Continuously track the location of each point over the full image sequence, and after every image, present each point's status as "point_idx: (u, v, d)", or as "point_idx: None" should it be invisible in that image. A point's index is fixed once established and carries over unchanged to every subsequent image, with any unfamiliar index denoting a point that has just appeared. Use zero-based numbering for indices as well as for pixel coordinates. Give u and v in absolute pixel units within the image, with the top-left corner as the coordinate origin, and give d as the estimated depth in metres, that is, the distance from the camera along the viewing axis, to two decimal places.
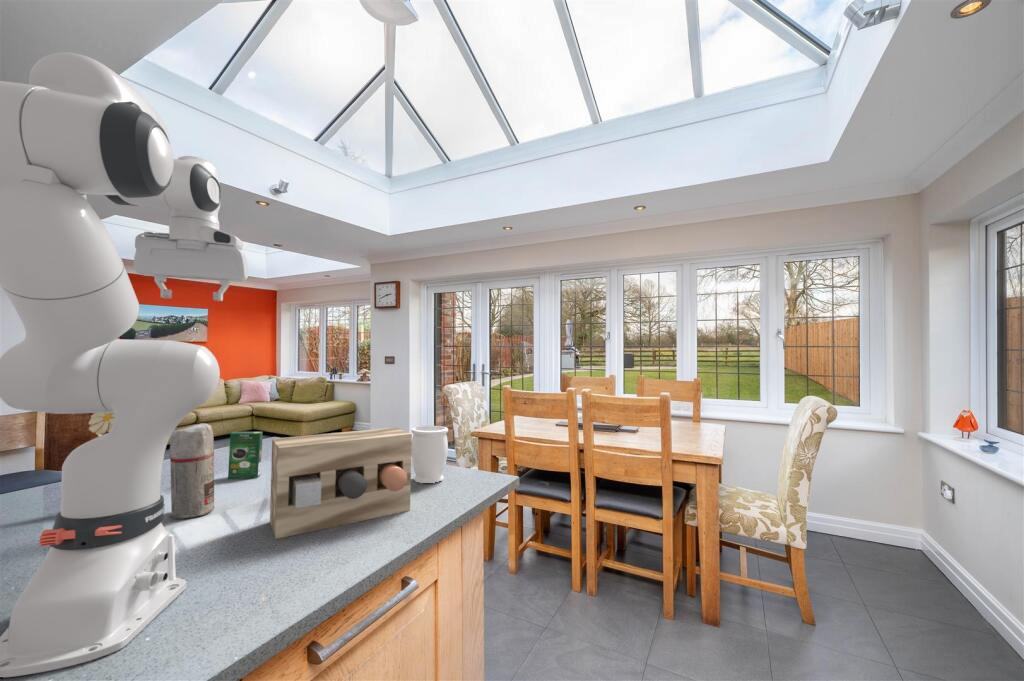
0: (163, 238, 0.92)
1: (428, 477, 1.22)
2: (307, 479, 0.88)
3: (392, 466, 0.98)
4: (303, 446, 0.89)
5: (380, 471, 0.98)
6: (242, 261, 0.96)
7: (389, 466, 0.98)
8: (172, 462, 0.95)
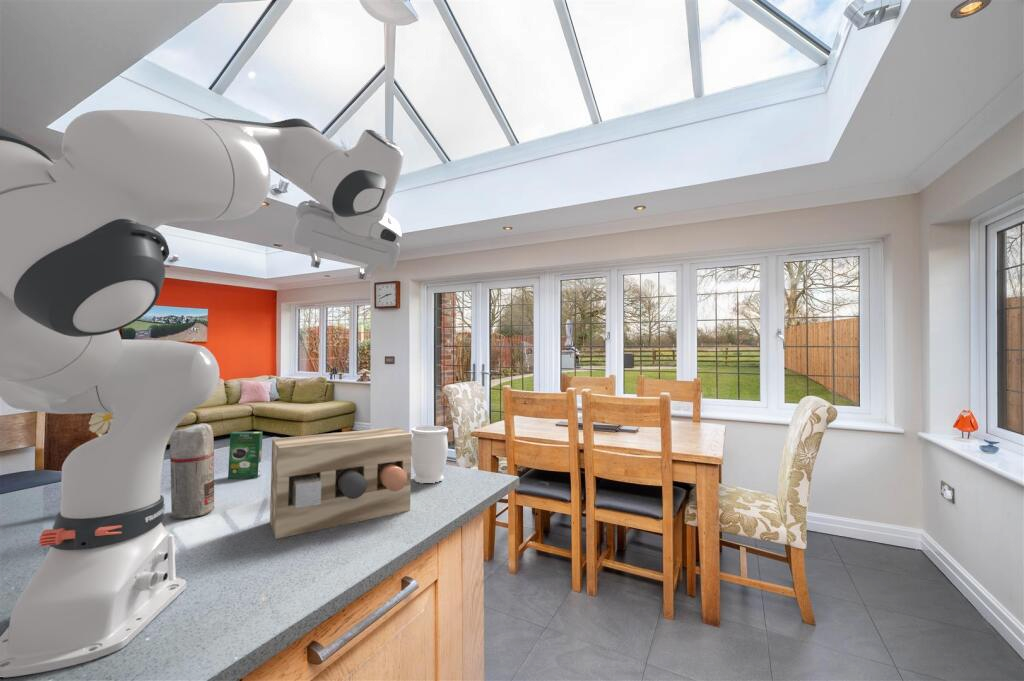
0: (327, 212, 0.82)
1: (428, 477, 1.22)
2: (307, 479, 0.88)
3: (392, 466, 0.98)
4: (303, 446, 0.89)
5: (380, 471, 0.98)
6: (397, 256, 0.91)
7: (389, 466, 0.98)
8: (172, 462, 0.95)
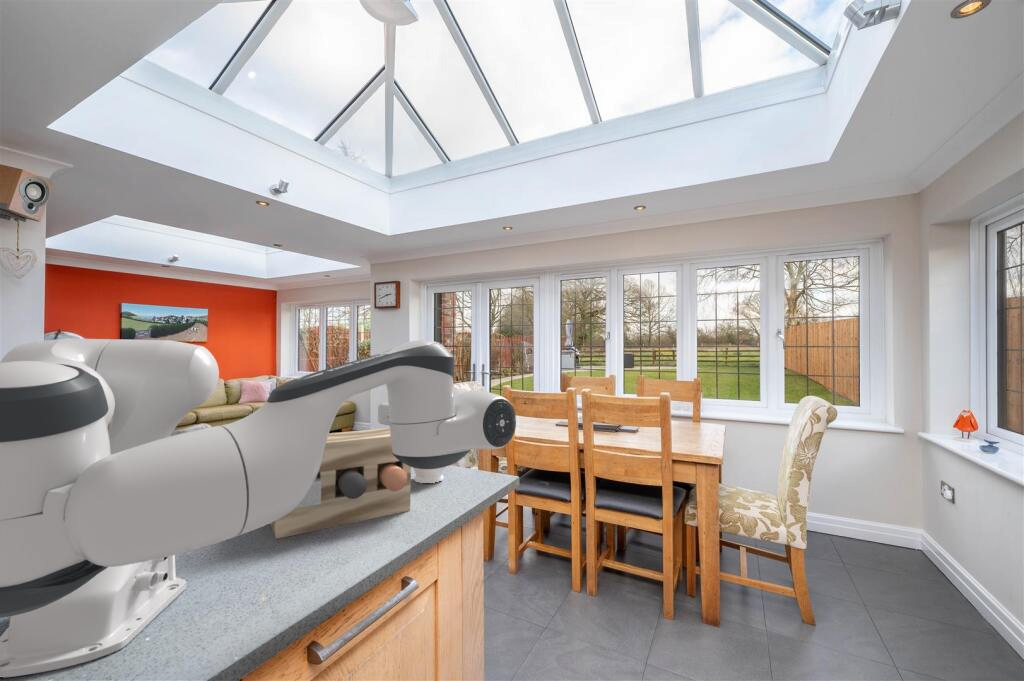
0: None
1: (428, 477, 1.22)
2: None
3: (392, 466, 0.98)
4: None
5: (380, 471, 0.98)
6: None
7: (389, 466, 0.98)
8: None
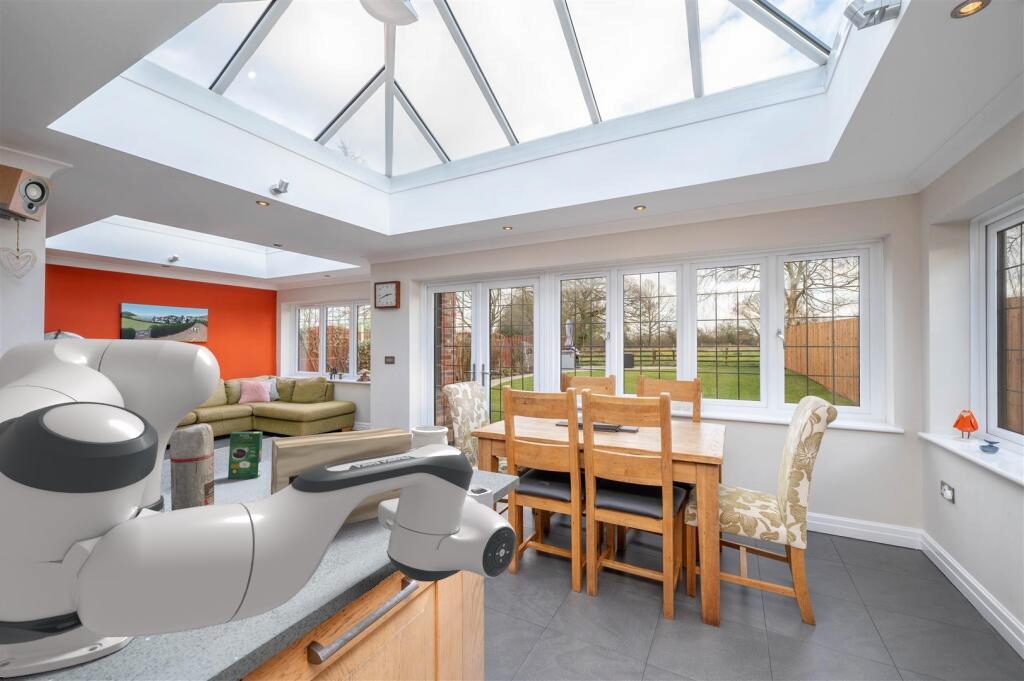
0: None
1: None
2: None
3: None
4: (303, 446, 0.89)
5: None
6: None
7: None
8: (172, 462, 0.95)
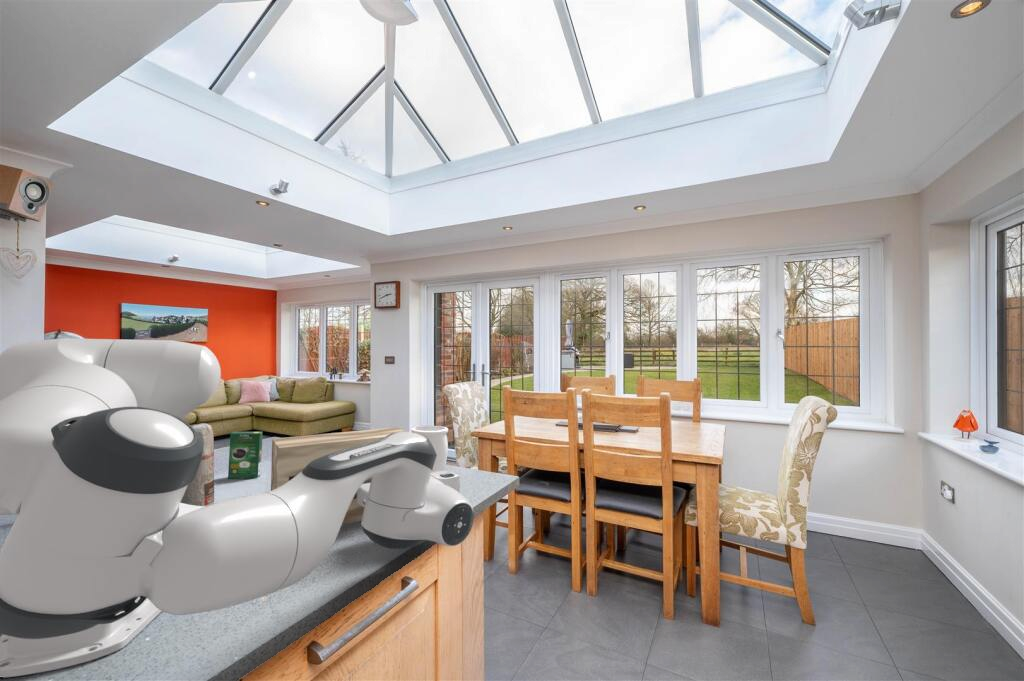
0: None
1: None
2: None
3: None
4: (303, 446, 0.89)
5: None
6: None
7: None
8: None
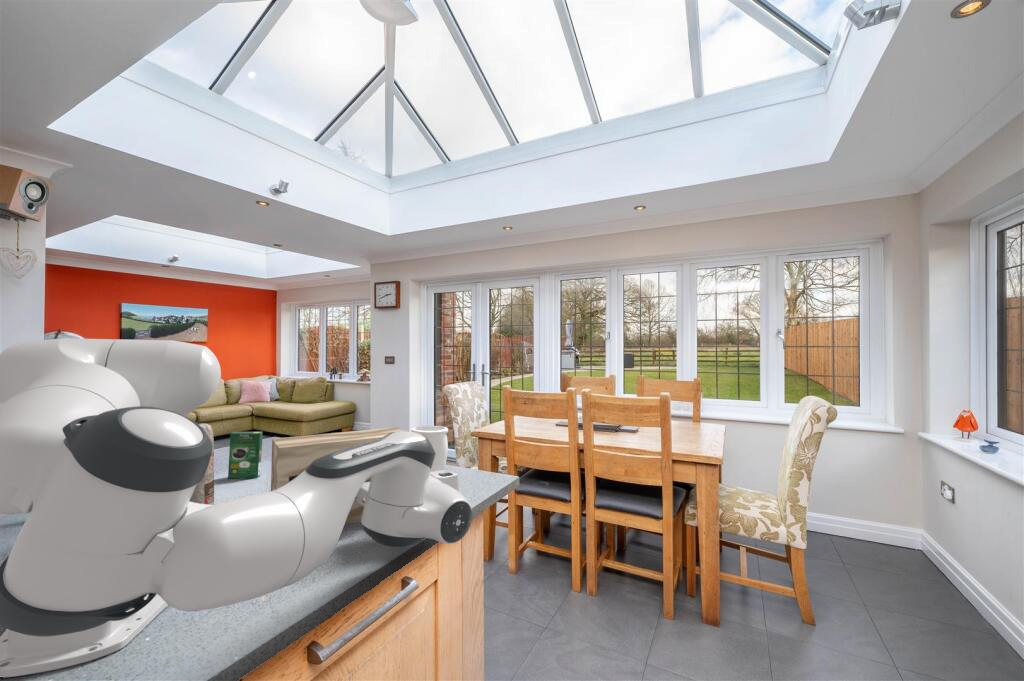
0: None
1: None
2: None
3: None
4: (303, 446, 0.89)
5: None
6: None
7: None
8: None
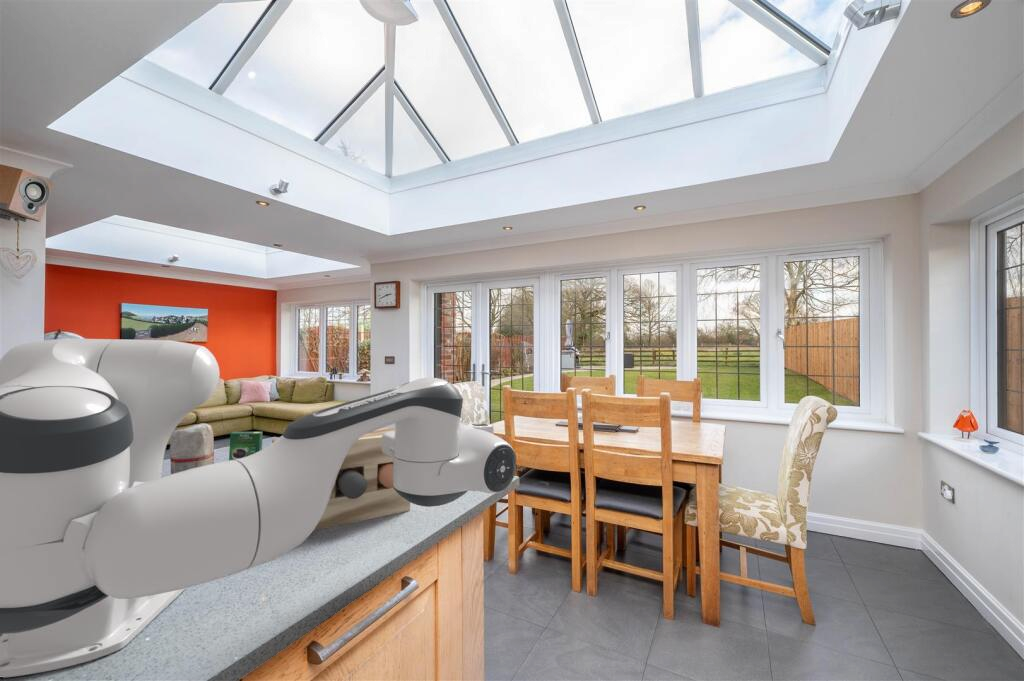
0: None
1: None
2: None
3: (388, 463, 1.00)
4: None
5: None
6: None
7: (385, 464, 1.00)
8: (172, 462, 0.95)
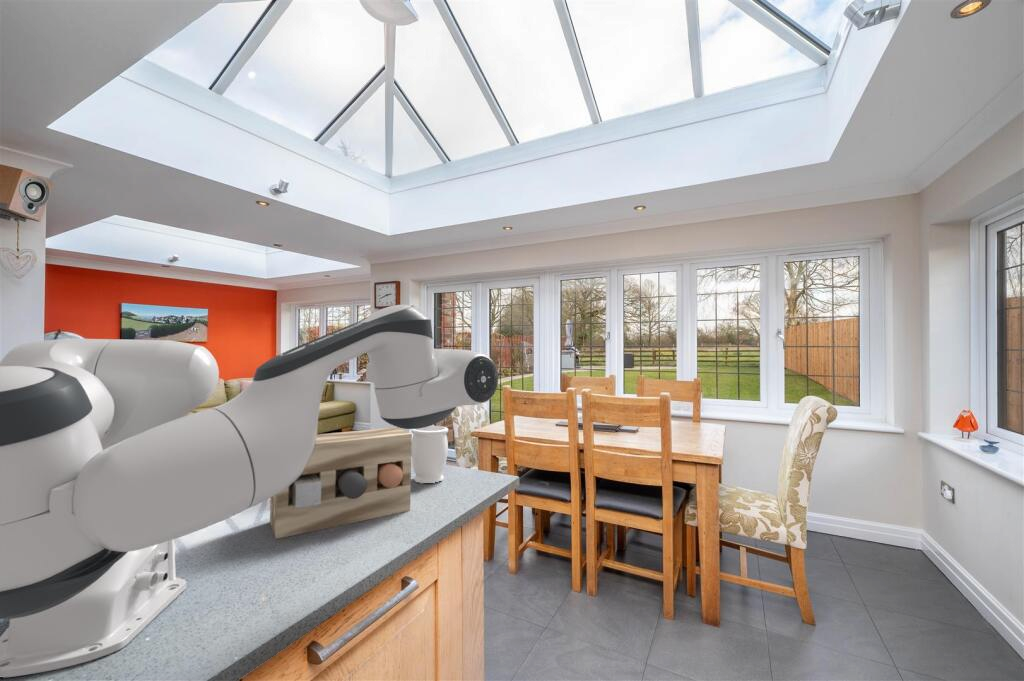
0: None
1: (428, 477, 1.22)
2: (307, 479, 0.88)
3: (388, 463, 1.00)
4: None
5: None
6: None
7: (385, 464, 1.00)
8: None
